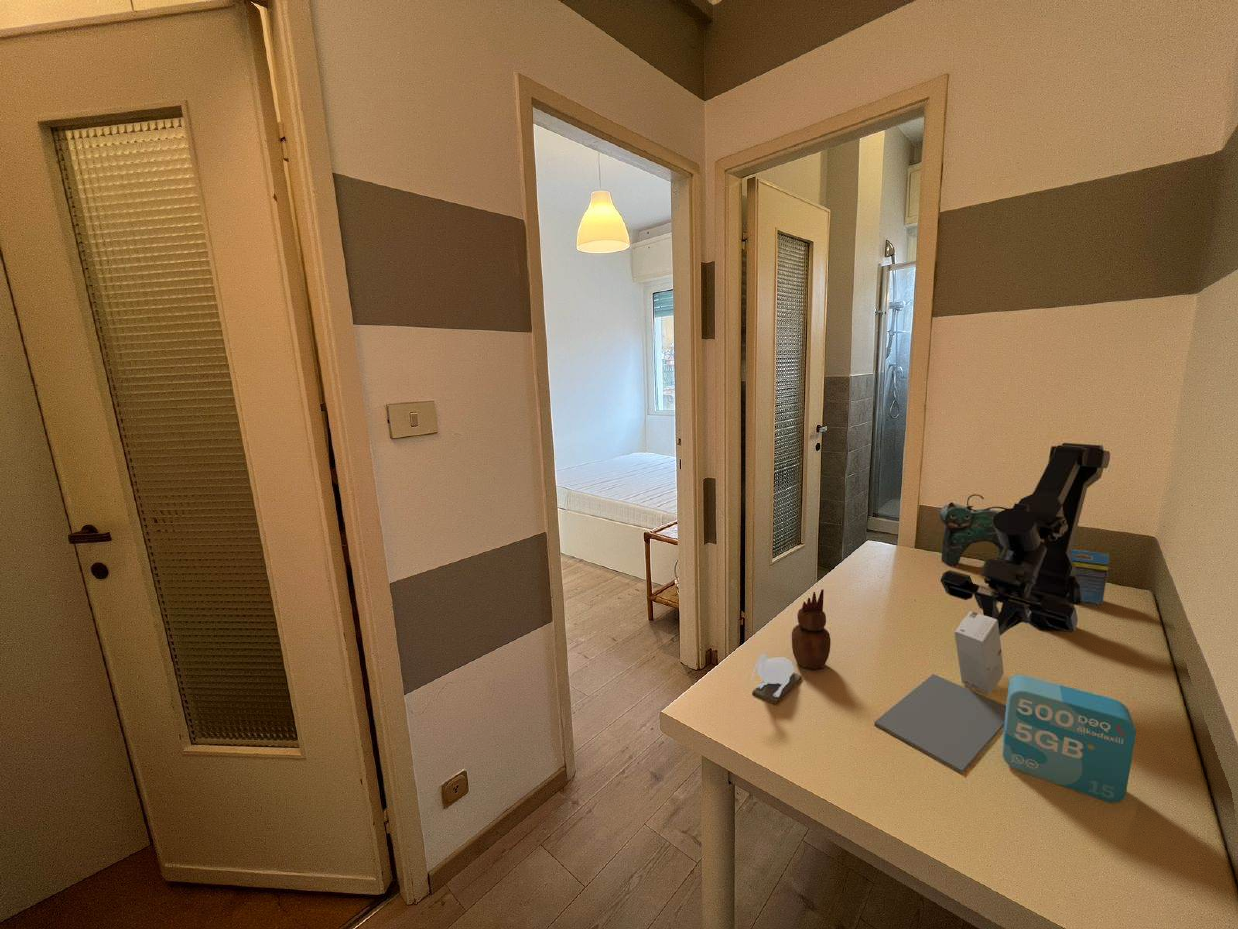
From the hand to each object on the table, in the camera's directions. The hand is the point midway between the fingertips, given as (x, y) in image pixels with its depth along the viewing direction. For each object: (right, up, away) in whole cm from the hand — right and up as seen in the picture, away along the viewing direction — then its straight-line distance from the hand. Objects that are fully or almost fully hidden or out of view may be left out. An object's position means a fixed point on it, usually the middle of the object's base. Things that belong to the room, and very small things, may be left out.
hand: (987, 640), depth 84 cm
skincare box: (0, -7, +1) cm, 7 cm away
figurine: (-37, -10, +1) cm, 38 cm away
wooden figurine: (-27, -8, +9) cm, 30 cm away
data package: (-4, -12, -18) cm, 22 cm away
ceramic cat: (+36, +3, +52) cm, 63 cm away
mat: (-12, -10, -7) cm, 17 cm away
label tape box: (+43, -1, +30) cm, 53 cm away
